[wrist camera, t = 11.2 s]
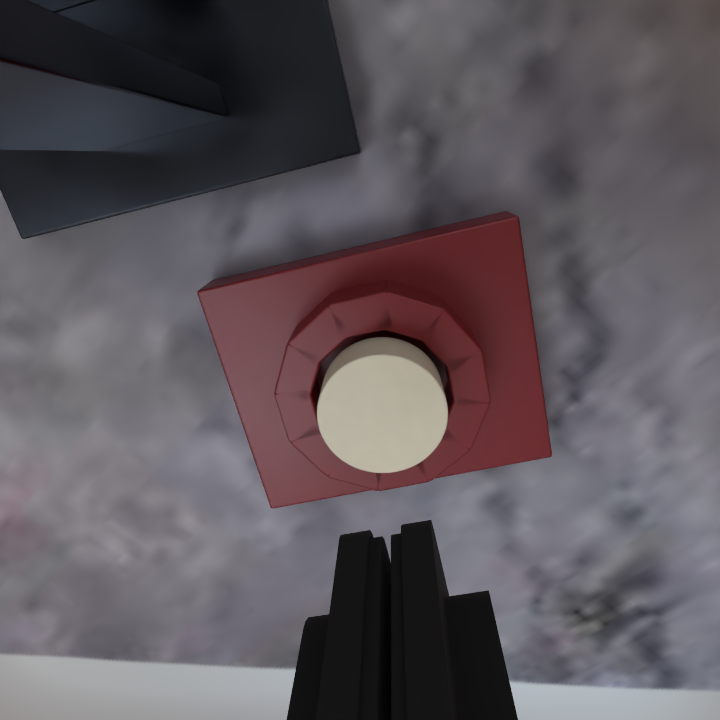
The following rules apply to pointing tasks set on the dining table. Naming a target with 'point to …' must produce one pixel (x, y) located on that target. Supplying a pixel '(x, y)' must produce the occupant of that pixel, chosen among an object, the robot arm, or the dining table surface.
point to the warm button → (382, 405)
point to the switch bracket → (161, 102)
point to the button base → (394, 320)
